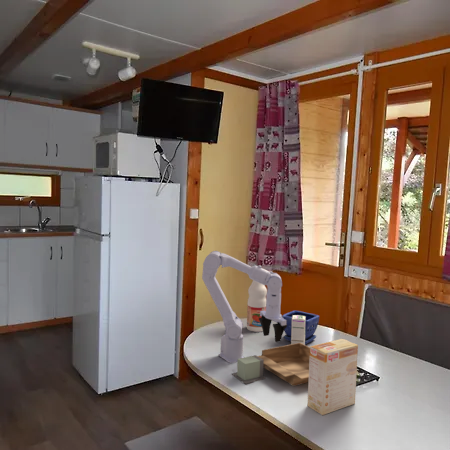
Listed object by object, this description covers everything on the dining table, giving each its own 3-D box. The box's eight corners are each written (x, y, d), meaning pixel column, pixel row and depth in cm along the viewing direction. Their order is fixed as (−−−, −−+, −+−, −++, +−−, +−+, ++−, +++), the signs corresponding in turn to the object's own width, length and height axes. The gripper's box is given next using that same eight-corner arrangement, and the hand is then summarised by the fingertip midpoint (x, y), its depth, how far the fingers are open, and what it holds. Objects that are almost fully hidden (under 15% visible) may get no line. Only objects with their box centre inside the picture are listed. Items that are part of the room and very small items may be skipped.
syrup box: (304, 353, 178) (305, 319, 177) (290, 351, 179) (291, 318, 178) (304, 348, 183) (306, 315, 182) (290, 347, 185) (292, 314, 184)
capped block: (237, 375, 153) (237, 358, 153) (255, 370, 157) (255, 355, 157) (244, 380, 149) (245, 363, 148) (263, 376, 153) (263, 359, 152)
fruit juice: (257, 325, 214) (259, 270, 212) (269, 330, 207) (271, 273, 205) (242, 328, 209) (244, 272, 207) (254, 333, 201) (257, 275, 199)
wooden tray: (252, 368, 160) (253, 351, 160) (299, 358, 172) (299, 342, 172) (291, 393, 141) (292, 375, 140) (341, 380, 152) (342, 362, 152)
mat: (231, 374, 154) (231, 373, 154) (252, 369, 159) (252, 368, 159) (245, 384, 147) (245, 383, 146) (266, 379, 151) (266, 378, 151)
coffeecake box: (339, 394, 141) (342, 338, 140) (356, 404, 135) (359, 344, 134) (306, 405, 133) (308, 345, 132) (322, 416, 127) (325, 353, 126)
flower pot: (293, 333, 203) (294, 309, 202) (319, 340, 195) (320, 314, 194) (279, 341, 192) (281, 315, 191) (306, 347, 184) (308, 321, 183)
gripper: (293, 308, 162) (291, 342, 163) (270, 299, 174) (269, 331, 175) (278, 310, 158) (277, 345, 159) (256, 301, 171) (255, 333, 172)
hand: (271, 338), depth 167 cm, fingers open, 7 cm apart
